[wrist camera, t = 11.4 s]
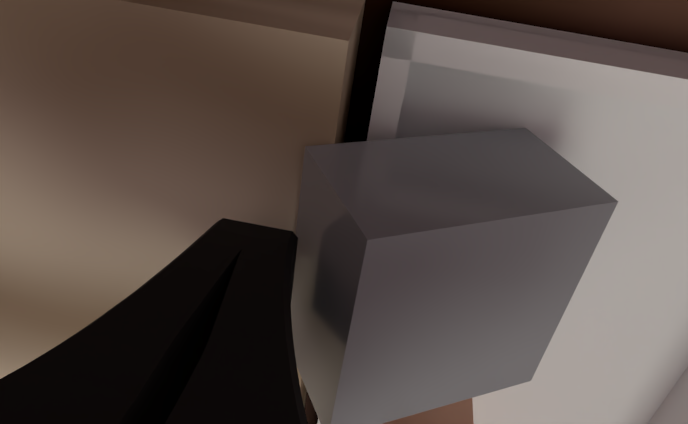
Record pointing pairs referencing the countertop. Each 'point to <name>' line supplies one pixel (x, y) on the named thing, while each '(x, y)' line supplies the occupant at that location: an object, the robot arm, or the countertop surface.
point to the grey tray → (597, 164)
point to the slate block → (434, 268)
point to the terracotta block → (442, 415)
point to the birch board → (150, 140)
